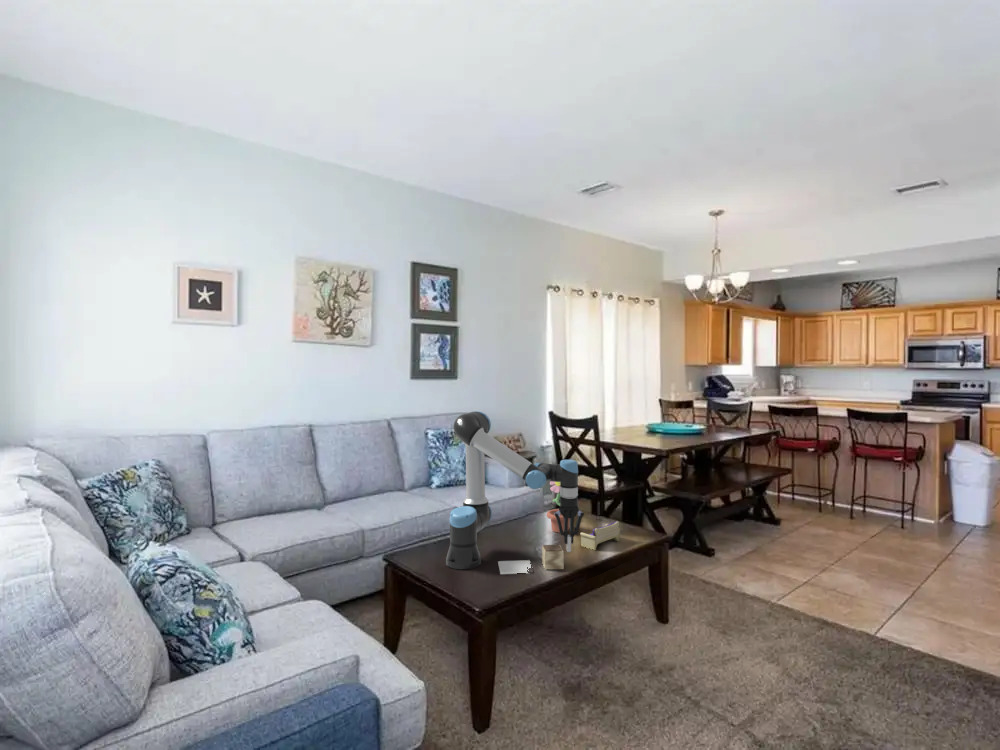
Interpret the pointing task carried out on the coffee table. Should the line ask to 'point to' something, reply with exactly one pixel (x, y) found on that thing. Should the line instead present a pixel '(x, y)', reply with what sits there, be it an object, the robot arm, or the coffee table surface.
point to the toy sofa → (601, 535)
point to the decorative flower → (551, 513)
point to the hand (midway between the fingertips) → (568, 550)
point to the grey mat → (514, 566)
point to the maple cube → (552, 557)
